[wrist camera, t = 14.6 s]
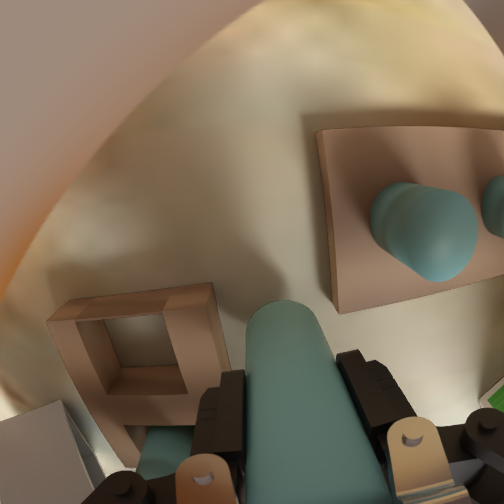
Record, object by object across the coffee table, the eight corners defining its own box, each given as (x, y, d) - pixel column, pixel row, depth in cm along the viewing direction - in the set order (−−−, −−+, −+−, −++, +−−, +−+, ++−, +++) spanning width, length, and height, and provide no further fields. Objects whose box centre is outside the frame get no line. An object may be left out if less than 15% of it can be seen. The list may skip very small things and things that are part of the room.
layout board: (514, 260, 15) (563, 286, 10) (332, 303, 15) (363, 357, 10) (514, 133, 12) (571, 135, 8) (315, 132, 13) (350, 118, 8)
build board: (248, 438, 17) (251, 561, 9) (134, 440, 18) (101, 546, 9) (211, 282, 14) (175, 434, 6) (68, 300, 15) (-34, 403, 6)
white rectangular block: (166, 572, 9) (83, 599, 6) (95, 453, 18) (36, 475, 15) (117, 537, 7) (15, 565, 4) (60, 399, 17) (-5, 423, 13)
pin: (320, 357, 14) (381, 528, 5) (252, 368, 14) (257, 551, 5) (316, 294, 13) (404, 469, 4) (239, 306, 13) (230, 502, 4)
